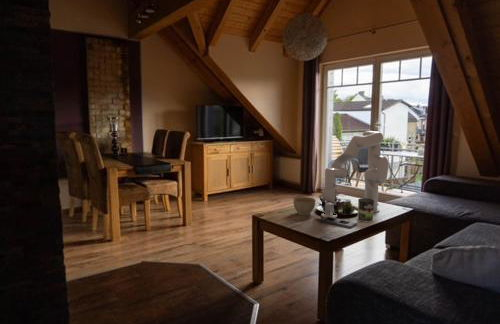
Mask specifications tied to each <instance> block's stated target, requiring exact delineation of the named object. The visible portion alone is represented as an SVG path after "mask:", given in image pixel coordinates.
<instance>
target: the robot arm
mask: <svg viewBox="0 0 500 324" xmlns="http://www.w3.org/2000/svg"><path fill="white" fill-rule="evenodd" d="M383 140H384V134H383V133H382V132H380V131H375V130H374V131H373V130H366V131H364V132H363V131H362V134H361V135H354V136H352V138H351V139H350V141H349V143H348V145H347V146H346V148H345V150H344V151H343V153H342V154H340V155H339V156H337V157H336V158H335V159H334V161H333V162H332V164H331V166H330V167H326V168H325V169H324V186H323V189H322V194H320V195H319V194H318V198H319V200H320V202H321V208H322V209H323V208H324V209H325V204H326V202H329V203H332V204H334V211H337V210H338V205H339V204H340V203H341V201H342V199H341V198H340V197H339V196H338V189H337V187H338V184H336V181H337V180H336V179H345V178H347V176H348V174H349V173H348V170H347V169H346V168H345V167H342V166H343V165H344V164H345V163H347V162H349V161H351V160H354V159H355V158H356V156H357V155H358V153H359V151H360V149H367V148H368V150H367V151H368V154H367V165H368V166H369V167H370V168H368V169H366V170H365V172H364V174H363V175H364V176H363V178H364V198H367V199H372V200H374V206H373V214H374V213H379V212H380V209H379V208H378V206H379V203H378V202H379V185H383V184H385V183H386V181H387V179H388V172H389V160H388V158H387V157H386V156H384V155H381V148H382V147H381V143H382V142H383ZM334 211H333V212H334Z"/></svg>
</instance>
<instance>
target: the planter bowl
mask: <svg viewBox="0 0 500 324" xmlns="http://www.w3.org/2000/svg"><path fill="white" fill-rule="evenodd" d="M292 201H293V207H294V209H295V211H296V213H297V214H298V215H299V216H304V217H305V216H310V215H311V213H312V212H313V211H314V209H315V206H316V199H315V198H313V197H307V196H298V197H294V198H293V199H292Z"/></svg>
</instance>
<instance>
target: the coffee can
mask: <svg viewBox="0 0 500 324" xmlns="http://www.w3.org/2000/svg"><path fill="white" fill-rule="evenodd" d="M357 200H358V202H357V204H358V205H357V206H358V207H357V220H358V221H359V222H363V223H371V222H373V220H374V213H373V206H374V200H372V199H367V198H359V199H357Z"/></svg>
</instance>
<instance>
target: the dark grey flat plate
mask: <svg viewBox="0 0 500 324" xmlns="http://www.w3.org/2000/svg"><path fill="white" fill-rule="evenodd" d="M320 222H322V223H325V224H329V225H334V226H338V227H342V228H346V229H352V228H354V227H356V226H357V224H358V223H357V222H354V221H349V220H346V219H341V218H337V217H336V218H333V217H329V216H327V217H325V218H324V217H322V218H320Z"/></svg>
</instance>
